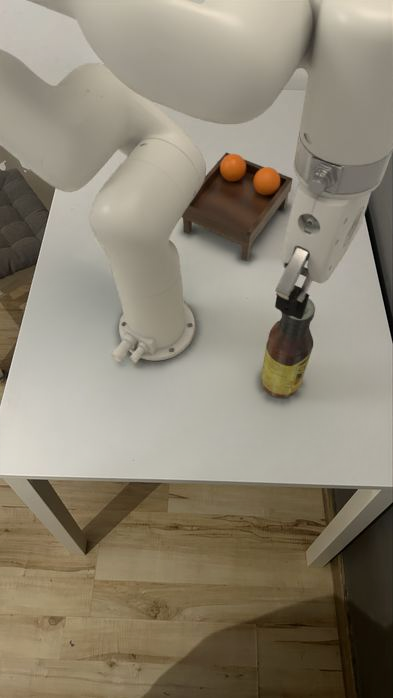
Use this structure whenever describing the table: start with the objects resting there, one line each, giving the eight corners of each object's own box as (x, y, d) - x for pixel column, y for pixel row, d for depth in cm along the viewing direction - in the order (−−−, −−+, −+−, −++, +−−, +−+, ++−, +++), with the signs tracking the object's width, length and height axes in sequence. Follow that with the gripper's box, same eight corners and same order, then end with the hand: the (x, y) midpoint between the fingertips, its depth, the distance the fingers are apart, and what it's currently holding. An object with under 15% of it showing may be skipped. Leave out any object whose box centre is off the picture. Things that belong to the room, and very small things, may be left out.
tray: (247, 262, 90) (249, 235, 84) (182, 232, 94) (180, 205, 88) (287, 206, 97) (292, 178, 91) (225, 181, 101) (226, 152, 94)
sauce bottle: (297, 403, 76) (322, 336, 59) (257, 396, 77) (270, 328, 60) (302, 365, 80) (327, 292, 62) (263, 359, 80) (277, 284, 63)
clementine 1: (237, 190, 92) (238, 169, 88) (215, 181, 94) (215, 160, 89) (250, 174, 94) (251, 153, 90) (228, 166, 95) (228, 144, 91)
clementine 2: (270, 204, 90) (273, 184, 86) (247, 195, 92) (249, 174, 87) (283, 188, 92) (286, 167, 88) (260, 179, 93) (262, 158, 89)
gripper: (341, 240, 37) (305, 353, 51) (422, 110, 44) (370, 243, 58) (251, 203, 39) (241, 322, 54) (342, 84, 46) (311, 219, 61)
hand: (308, 281), depth 56 cm, fingers open, 9 cm apart
